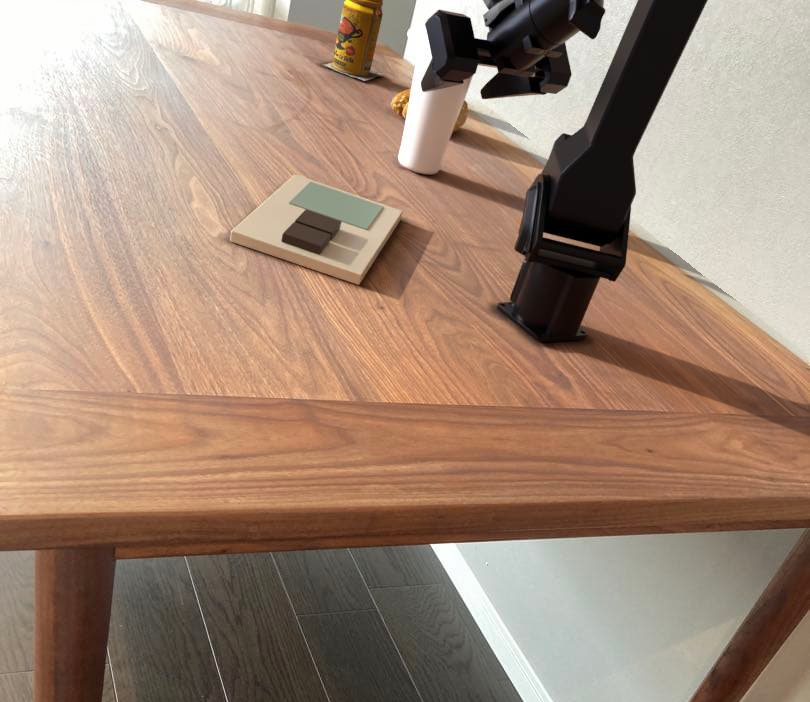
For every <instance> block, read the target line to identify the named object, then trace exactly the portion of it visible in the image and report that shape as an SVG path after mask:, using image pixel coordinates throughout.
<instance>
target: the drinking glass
mask: <svg viewBox="0 0 810 702" xmlns="http://www.w3.org/2000/svg"><path fill="white" fill-rule="evenodd" d="M423 31H424V32H423V35H422V38H421V41H420V45H419V48H418V53H417V56H416V61H415V65H414V70H413V76H412V81H411V87H410V88H411V92H410V98H409V104H408V110H407V115H406V120H405V121H404V127H403V132H402V138H401V143H400V147H399V151H398V156H397V160H398V162H399V164H400V165H401V166H402V167H404V168H405V169H407V170H410V171H412V172H414V173H418V174H421V175H428V176H429V175H430V176H431V175H436V174H437V173H438V172H439V171H440V169H441V167H442V164H443V159H444V156H445V153H446V151H447V148H448V145H449V142H450V141H451V137H452V135H453V133H454V132H453V129H454V126H455V124H456V121H457V118H458V116H459V113H460V110H461V108H462V105H463V102H464V100H465V99H466V97H467V94H468V92H469V88H470V86H471V83H472V80H473V77H474V75H473V76H471V77H470V78H468V79H465V80H463V82H464V83H463V84H460V85H456V86H451V87H447V88H443V89H438V90H434V91H429V92H423V91H422V88H421V81H422V78H423V76H424V74H425V72H426V70H427V68H428V66H429V64H430V61H431V59H432V55H431V50H430V45H429V40H428V36H427V31H426V27H424V30H423ZM465 101H466V100H465Z"/></svg>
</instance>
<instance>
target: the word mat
mask: <svg viewBox="0 0 810 702" xmlns="http://www.w3.org/2000/svg"><path fill="white" fill-rule="evenodd" d="M403 213H404V211H403V210H401V209H398V208H395V207H393V206H390V205H386V204H384V203H381V202H377V201H375V200H371V199H368V198H365V197H363V196H361V195H357V194H354V193H352V192H349V191H345V190H342V189H339V188H338V187H337V188H336V187H333V186H331V185H328V184H325V183H322V182H320V181H316V180H313V179H310V178H307V177H304V176H301V175H298V174H296V173H295V174H293V175H292V176H291V177H290V178H289V179H287V180H286V181H285V182H284V183H283V184H282V185H281V186H280V187H279V188H278V189H276V190H275V191H274V192H273V193H272V194H271V195H270V196H268V198H266V199H265V200H264V201H263V202H262V203H261V204H259V206H258V207H257V208H255V209H254V210H253V211H252V212H251V213H249V214H248V216H246V217H245V218H244V219H243V220H242V221H241V222H240V223H238V224H237V225H236V226H235V227H234V228H233V229H232V230H231V232H230V237H229V242H231V243H234V244H237V245H240V246H243V247H246V248H248V249H252V250H255V251H257V252H260V253H263V254H267V255H270V256H273V257H275V258H278V259H281V260H284V261H287V262H290V263H293V264H295V265H299V266H302V267H305V268H307V269H309V270H313V271H317V272H319V273H322V274H325V275H328V276H331V277H334V278H337V279H340V280H341V281H342V280H343V281H345V282H348V283H352V284H354V285H357V286H359V285H360V284H361V282H362V281H363V280H364V278H365V276H366V275H367V273H368V271H369V270H370V268H371V267H372V266H373V264H374V262H375V260H376V259H377V257H378V256H379V254H380V253H381V251H382V249H383V248H384V246H385V245H386V244H387V242H388V240H389V239H390V237H391V236H392V234H393V233H394V231H395V229H396V228H397V226H398V225H399V223H400V221H401V220H402V217H403Z"/></svg>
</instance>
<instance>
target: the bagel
mask: <svg viewBox="0 0 810 702" xmlns="http://www.w3.org/2000/svg"><path fill="white" fill-rule="evenodd" d="M410 92H411V87H410V88H407V89H405V90H403V91H400V92H399V93H398V94H396V95H395V96H394V97H393V98H392V100H391V103H390V104H391V108H392V110H393V111H394V112H395V113H396V114H397V115H398V116H400V117H403V119H404V120H405V121H406V115H407V110H408V104H409V98H410ZM468 105H469V104H468V102H467V101H466V100H464V102H463V105H462V108H461V110H460V113H459V116H458V118H457V121H456V124H455V126H454V129H453V132H452V133H455V132H456V131H458V130H459V129H460V128H461V127H462V126H464V125H465V123H466V121H467V119H468V113H469V107H468Z"/></svg>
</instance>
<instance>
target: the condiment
mask: <svg viewBox="0 0 810 702" xmlns="http://www.w3.org/2000/svg"><path fill="white" fill-rule="evenodd" d="M383 2H384V0H345V1H344V2H343V6H342V11H341V15H340V21H339V26H338V30H337V31H338V32H337V36H336V41H335V45H334V50H333V56H332V62H329V63H324V64H321V65H322V66H325V67H326V68H329V69H331V70H333V71H336V72H338V73H341V74H344V75H346V76H348V77H351V78H356V79H359V80H361V81H364V82H365V81H370V80H373V79H375V78H376V77H381V76H382V75H384V73H381V72H377V71H373V70H372V66H373V61H374V55H375V51H376V47H377V42H378V38H379V33H380V28H381V25H382V21H383V15H384V14H383V5H384V3H383Z"/></svg>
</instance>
